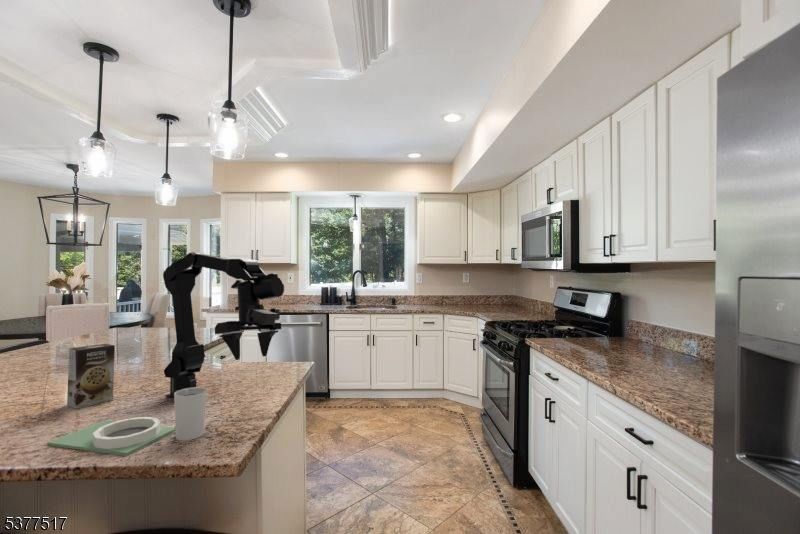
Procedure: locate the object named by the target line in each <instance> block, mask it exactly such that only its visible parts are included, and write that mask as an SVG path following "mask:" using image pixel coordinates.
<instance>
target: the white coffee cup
mask: <svg viewBox="0 0 800 534" xmlns="http://www.w3.org/2000/svg"><path fill="white" fill-rule="evenodd" d="M207 395H208V389H207V388H206V387H202V386H198V387H197V386H196V387H193V388H186V389H182V390H179V391H177V392H175V393H174V397H173V398H174V401H173V402H174V423H175V429H176V431H175V439H176V440H178V441H190V440H191V441H192V440H196V439H198V438H201V437H202V436H203V435H205V429H206V428H205V425H206V424H205V423H206V410H207V408H206V407H207Z"/></svg>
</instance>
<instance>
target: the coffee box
mask: <svg viewBox="0 0 800 534" xmlns="http://www.w3.org/2000/svg"><path fill="white" fill-rule="evenodd" d="M115 346H116V345H113V344H109V343H101V344H93V345H85V346H83V345H82V346H76V347H69V348H68V367H67V369H68V374H67V392H66V393H67V398H66V405H67V406H68V407H70V408H73V409H75V410H77V409H82V408H86V407H91V406H93V405H97V404H98V405H99V404H102V403H106V402H107V403H108V402H111V401H113V400H114V388H115V387H114V386H115V385H114V384H115V383H114V382H115V354H116V353H115V350H116V349H115V348H116V347H115Z"/></svg>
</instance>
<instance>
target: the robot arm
mask: <svg viewBox="0 0 800 534" xmlns="http://www.w3.org/2000/svg"><path fill="white" fill-rule="evenodd" d="M203 268H206V269H211V270H215V271H220V272H223V273H225V274H226V275H227V276H230V277H231V278H234V279H236V280H235V282H234V283H233V284H232V285H231V286H230V288H231V289H236V290H237V306H235V307H234V310H235V311H236V312H238V320H232V321H231V320H229V321H228V320H227V321H223V322H217V323H216V325H215V326H214V335H218V337H219V338H222V339H223V342H225V344H226V345H227V347H228V348H229V350H230V352H231V354H232V356H233V357H234V359H235V360H236V361H238V360H240V357H241V337H242V336H243V333H244V332H240V331H254V330H255V331H256V330H257V331H259V332H257V339H258V344H259V347H260V348H259V349H260V353H261V356H262V357H267V354H268V352H269V351H268V350H269V348H270V343H271V341H272V338H273V337H274V336H275V334H277V333H279V330H282V322H281V321H280V318H281V312H280V309H279V308H277V307H271V308H270V309H265V307H264V304H261V303H260V300H262V301H263V300H268V299H270V300H271V299H275V298H279V297H282V296H283V295H284V293H285V285H284V283H283V281H282V279H281V278H280V277H279V276H278V272H277V273H276V272H274V273H273V272H270V273H268V274H267V273H266V272H265V271H264V270H263V269H262V268H261V267H260V264H259V262H258V260H255V259H249V258H247V259H246V258H226V257H221V256H217V255H210V254H206V253H204V252H197V251H193V252H192V251H191V252H189V253H187V254H186V255H185V256H183V257H181V258H180V259H177V260H176V261H174V262H172V263H171V264H170V265H169V266H167V267H166V269H165V270H164V271H163V273H162V277H163V282H164V286H165V288H166V290H167V291H168V292H169V294H170V295H171V297H172V307H173V315H174V317H173V318H174V327H175V328H174V329H175V337H176V343H175V345H174V347H173V349H172V352H171V360H170V362H169V363H168V365H167V366H166V367H165V368H164V370H163V373H164V377H165V378H170V383H169V385H170V386H169V388H170V390H169V391H170V393H167V394H166V395H165V397H166V398H174V393H175V392H177V391H179V390H182V389H186V388H193V387H197V378H196V373H200V372H201V370H202V366H203V364H204V362H205V357H206V354H205V345H204V344H203V343H201V344H200V343H199V341H197V340H196V332H195V324H194V323H195V322H194V314H193V303H192V296H191V295H192V292H193V290H194V288H195V286H196V278H197V277H198V276H199V275H200V274H201V273H202V270H203Z"/></svg>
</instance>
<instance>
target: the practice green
mask: <svg viewBox="0 0 800 534" xmlns="http://www.w3.org/2000/svg"><path fill="white" fill-rule="evenodd" d="M172 433H176V429H175V427H174V426H166V425H161V420H159V418H157V417H150V416H141V417H140V416H139V417H130V418H125V419H122V420H109V419H104V420H102V421H99V422H97V423H94V424H90V425H89V426H87V427H83V428H81V429H79V430H75V431H74V432H70V433H67V434H66V435H63V436H60V437H58V438H56V439H52V440H50V441H47V442H46V446H50V447H58V448H65V449H71V450H72V449H73V450H79V449H80V450H79V451H86V452H87V451H88V452H93V451H94V452H93V453H96V452H97V453H103V454H108V455H109V454H110V455H115V456H116V455H117V456H125V457H127V456H129V455H131V454H134V453H135V452H137V451H139V450H141V449H143V448H145V447H147V446H149V445H151V444H153V443H155V442H157V441H159V440H161V439H163V438H165V437H166V436H169V435H171V434H172Z"/></svg>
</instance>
